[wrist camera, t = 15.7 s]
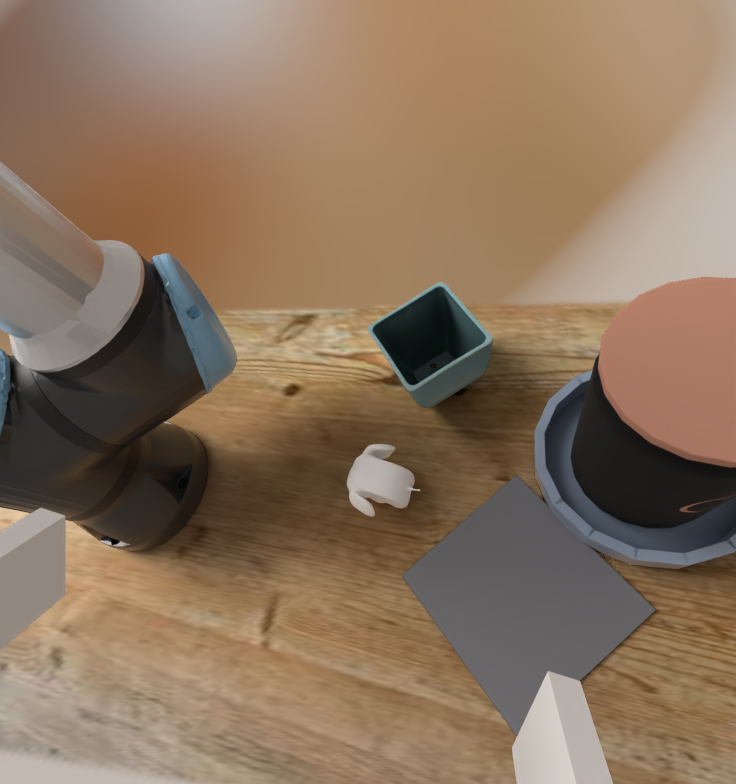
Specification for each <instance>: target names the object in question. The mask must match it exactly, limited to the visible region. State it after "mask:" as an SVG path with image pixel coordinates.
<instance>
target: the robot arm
mask: <svg viewBox="0 0 736 784" xmlns="http://www.w3.org/2000/svg"><path fill="white" fill-rule="evenodd" d="M0 329H1V330H3V331H5V332H7V333H8V334H9V337H10V343H11V347H12V351H13V354H14V356H9V355H7V354H6V352H5V351H3V350H1V349H0V507H3V508H8V509H13V510H18V511H23V512H28V513H31V514H29V515H27V516H26V517H24V518H22V519H20V520H19V521H17V522H15V523H14V524H12V525H10V526H9V527H7V528H5V529H3V530H2V531H0V650H1V649H2V648H4V647H5V646H6V645H7V644H8V643H9V642H11V641H12V640H13V639H14V638H15V637H17V636H18V635H19V634H20V633H21V632H22V631H24V630H25V629H26V628H27V627H28V626H29V625H31V624H32V623H33V622H34V621H35V620H36V619H38V618H39V617H40V616H41V615H42V614H43V613H45V612H46V611H47V610H48V609H49V608H50V607H52V606H53V605H54V604H55V603H56V602H57V601H59V600H60V599H61V598H62V597H63V596H64V595H65V520H69V521H73V522H74V523H75V524H77V525H78V526H80V527H81V528H82V529H84V530H85V531H87V532H88V533H89V534H91V535H92V536H94V537H95V538H97V539H98V540H99V541H101V542H102V543H104V544H106V545H108V546H110V547H113V548H117V549H123V550H129V551H143V550H148V549H151V548H154V547H156V546H158V545H160V544H162V543H164V542H165V541H167V540H168V539H170V538H171V537H172V536H174V535H175V534H176V533H177V532H178V531H179V530H180V529H181V528H182V527H183V526H184V525H185V524H186V522H187V521H188V520H189V518H190V517H191V516H192V514H193V513H194V511H195V509H196V507H197V506H198V504H199V502H200V499H201V497H202V494H203V491H204V488H205V484H206V479H207V458H206V453H205V450H204V448H203V445H202V444H201V442H200V441H199V439H198V438H197V437H196V436H195V435H194V434H192V433H191V432H189V431H187V430H186V429H184V428H182V427H180V426H178V425H176V424H173V423H169V422H165V421H166V420H168V419H169V418H171V417H172V416H174V415H175V414H177V413H178V412H180V411H181V410H183V409H184V408H186V407H187V406H189V405H190V404H192V403H193V402H195V401H196V400H198V399H199V398H201V397H202V396H204V395H205V394H208V393H210V392H211V391H212V388H213V387H215V386H216V385H217V384H218V383H220V382H221V381H222V380H224V379H225V378H226V377H227V376H229V375H230V374H231V373H232V372H233V370H234V368H235V366H236V362H237V355H236V351H235V349H234V346H233V344H232V342H231V340H230V338H229V336H228V334H227V332H226V330H225V329H224V327H223V325H222V324H221V322H220V320H219V318H218V317H217V315H216V313H215V312H214V310H213V309H212V307H211V306H210V304H209V303H208V301H207V299H206V298H205V296H204V295H203V293H202V292H201V290H200V289H199V287H198V286H197V285H196V283H195V282H194V280H193V279H192V278H191V276H190V275H189V273H188V272H187V271H186V269H185V268H184V267H183V266H182V265H181V263H180V262H179V261H178V260H177V259H176V258H174V257H173V256H172V255H170V254H167V253H165V254H162V255H160V256H157V255H156V256H154V257H153V258H152V260H151V261H150V262H147V261H146V260H145V259H144V258H143V257H142V256H141V255H140V254H138V253H137V252H136V251H135V250H134V249H133V248H131V247H130V246H129V245H128V244H125V243H123V242H119V241H112V240H104V241H93V240H92V239H90V238H89V237H88V236H87V235H86V234H85V233H84V232H82V231H81V230H80V229H79V228H77V227H76V226H75V225H74V224H73V223H72V222H71V221H69V220H68V219H67V218H66V217H65V216H64V215H62V214H61V213H60V212H59V211H58V210H57V209H55V208H54V207H53V206H52V205H51V204H50V203H48V202H47V201H46V200H45V199H44V198H43V197H41V196H40V195H39V194H38V193H37V192H35V191H34V190H33V189H32V188H31V187H30V186H28V185H27V184H26V183H25V182H24V181H23V180H21V179H20V178H19V177H18V176H17V175H16V174H14V173H13V172H12V171H11V170H10V169H8V168H7V167H6V166H5V165H4V164H3V163H1V162H0ZM512 753H513V760H514V768H515V775H516V782H517V784H613V782H612V779H611V776H610V773H609V769H608V766H607V763H606V760H605V757H604V754H603V751H602V748H601V745H600V742H599V738H598V735H597V732H596V729H595V726H594V723H593V720H592V717H591V714H590V711H589V707H588V704H587V701H586V698H585V695H584V692H583V689H582V686H581V683H580V681H578V680H575V679H572V678H569V677H566V676H563V675H559V674H556V673H553V672H550V671H548V672H547V674H546V676H545V678H544V680H543V682H542V685H541V687H540V689H539V691H538V693H537V695H536V697H535V700H534V702H533V704H532V706H531V708H530V710H529V712H528V715H527V717H526V719H525V721H524V723H523V725H522V727H521V729H520V732H519V734H518V736H517V738H516V740H515V742H514V744H513V747H512Z"/></svg>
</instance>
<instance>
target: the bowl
mask: <svg viewBox="0 0 736 784" xmlns="http://www.w3.org/2000/svg"><path fill="white" fill-rule="evenodd" d="M592 371H593V370H591V371H589V372H586V373H583V374H580V375H578V376H575V377H574V378H573V379H572V380H571V381H570V382H568V383H567V384H566V385H565V386H564V387H563V388H562V389H560V390H559V391H558V392H557V393H556V394H555V395H554V396H552V397H551V398H550V399H549V400H548V402H547V405H546V407H545V409H544V411H543V413H542V416H541V418H540V420H539V422H538V425H537V427H536V429H535V432H534V465H535V478H536V480H537V482H538V485H539V488H540V491H541V493H542V496H543V498H544V499H545V501H546V503H547V505H548V506H549V508H550V510H551V512H552V513H553V514H554V515H555V516H556V517H557V518H558V520H559V521H560V522H561V523H562V524H563V525H564V526H565V527H566V528H567V529H568V530H569V531H570V532H571V533H572V534H574V535H575V536H576V537H577V538H578V539H580V540H581V541H582V542H583V543H585V544H587V545H589V546H590V547H591V548H593V549H595V550H596V551H598V552H600V553H602V554H604V555H606V556H609V557H611V558H614V559H616V560H619V561H622V562H625V563H627V564H633V565H638V566H644V567H652V568H672V569H679V568H683V567H686V566H690V565H693V564H697V563H700V562H704V561H707V560H711V559H714V558H718V557H721V556H725V555H728V554H731V553H734V552H736V497H734V498H732V499H731V500H729V501H727V502H725V503H723V504H722V505H720V506H718V507H716V508H715V509H713V510H711V511H709V512H708V513H706V514H704V515H702V516H701V517H699V518H697V519H695V520H693V521H690V522H687V523H685V524H682V525H679V526H676V527H673V528H644V527H640V526H636V525H632V524H628V523H624V522H621V521H620V520H618V519H616V518H614V517H612V516H611V515H609V514H607V513H605V512H603V511H601V510H600V509H599V508H598V507H597V506H596V505H595V504H594V503H593V502H592V501H591V500H590V499H589V498H588V497H587V496H586V495H585V494H584V493H583V491H582V489H581V487H580V486H579V484H578V482H577V480H576V479H575V477H574V473H573V468H572V463H571V458H570V456H571V450H572V444H573V439H574V435H575V432H576V428H577V424H578V421H579V417H580V414H581V410H582V406H583V403H584V399H585V396H586V392H587V388H588V385H589V381H590V378H591V374H592Z"/></svg>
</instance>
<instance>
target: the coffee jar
mask: <svg viewBox="0 0 736 784" xmlns="http://www.w3.org/2000/svg"><path fill="white" fill-rule="evenodd" d="M570 458H571V463H572V468H573V473H574V477H575V479H576V480H577V482H578V484H579V486H580V487H581V489H582V491H583V493H584V494H585V495H586V496H587V497H588V498H589V499H590V500H591V501H592V502H593V503H594V504H595V505H596V506H597V507H598V508H599V509H600V510H601V511H603V512H605V513H607V514H609V515H611V516H612V517H614V518H616V519H618V520H620V521H621V522H624V523H628V524H632V525H636V526H640V527H644V528H673V527H676V526H679V525H682V524H685V523H687V522H690V521H693V520H695V519H697V518H699V517H701V516H702V515H704V514H706V513H708V512H709V511H711V510H713V509H715V508H716V507H718V506H720V505H722V504H723V503H725V502H727V501H729V500H731V499H732V498H734V497H736V278H715V277H700V278H694V279H688V280H682V281H676V282H670V283H667V284H665V285H662V286H660V287H658V288H655V289H653V290H650V291H648V292H645V293H643V294H641V295H639V296H638V297H636V298H635V299H634V300H633V301H631V302H630V303H629V304H628V305H626V306H625V307H624V308H623V309H621V310H620V311H619V312H618V313H617V314H616V315H615V317H614V318H613V320H612V321H611V323H610V325H609V326H608V328H607V330H606V331H605V333H604V334H603V336H602V342H601V348H600V353H599V355H598V357H597V358H596V360H595V363H594V367H593V371H592V374H591V378H590V381H589V385H588V388H587V392H586V396H585V399H584V403H583V406H582V410H581V414H580V417H579V421H578V424H577V428H576V432H575V435H574V439H573V444H572V450H571V456H570Z"/></svg>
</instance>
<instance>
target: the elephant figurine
mask: <svg viewBox="0 0 736 784" xmlns="http://www.w3.org/2000/svg"><path fill="white" fill-rule="evenodd" d="M394 450H395V447H393V446H391V445H386V444H373V445H369V446H368V447H367V448H366V449H365V450H364V452H363V453H362V454H361V455H360V456H359V457H357V458H356V460H355V462H354V464H353V466H352V467H351V470H350V472H349V475H348V478H347V484H346V483H345V484H346V485H347V487H348V489H349V500H350V502H351V504H352V505H353V506H354V507H355V508H357V509H358V510H359V511H361V512H362V513H364V514H365V515H368V516H374V515H375V512H374V508H373V506H372V505H371V504H370V503H369V502H368V501H367V500H365V499H364V498H368V497H369V498H371V499H372V500H374V501H376V502H378V503H388V504H391V505H392V506H394V507H396V508H401V509H402V508H405V507H406V506H407V505H408V504H409V500H410V495H411V491H412V490H417V489H413V485H414V482H415V479H414V475H413V473H412V472H411V471H409V470H408V469H406V468H404V467H401V466H399V465H397V464H394V463H391V462H388V461H384V460H382V459H385V458H388V457H389V456H390V455H391V454H392V453H393V452H394ZM417 491H420V489H418V490H417Z"/></svg>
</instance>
